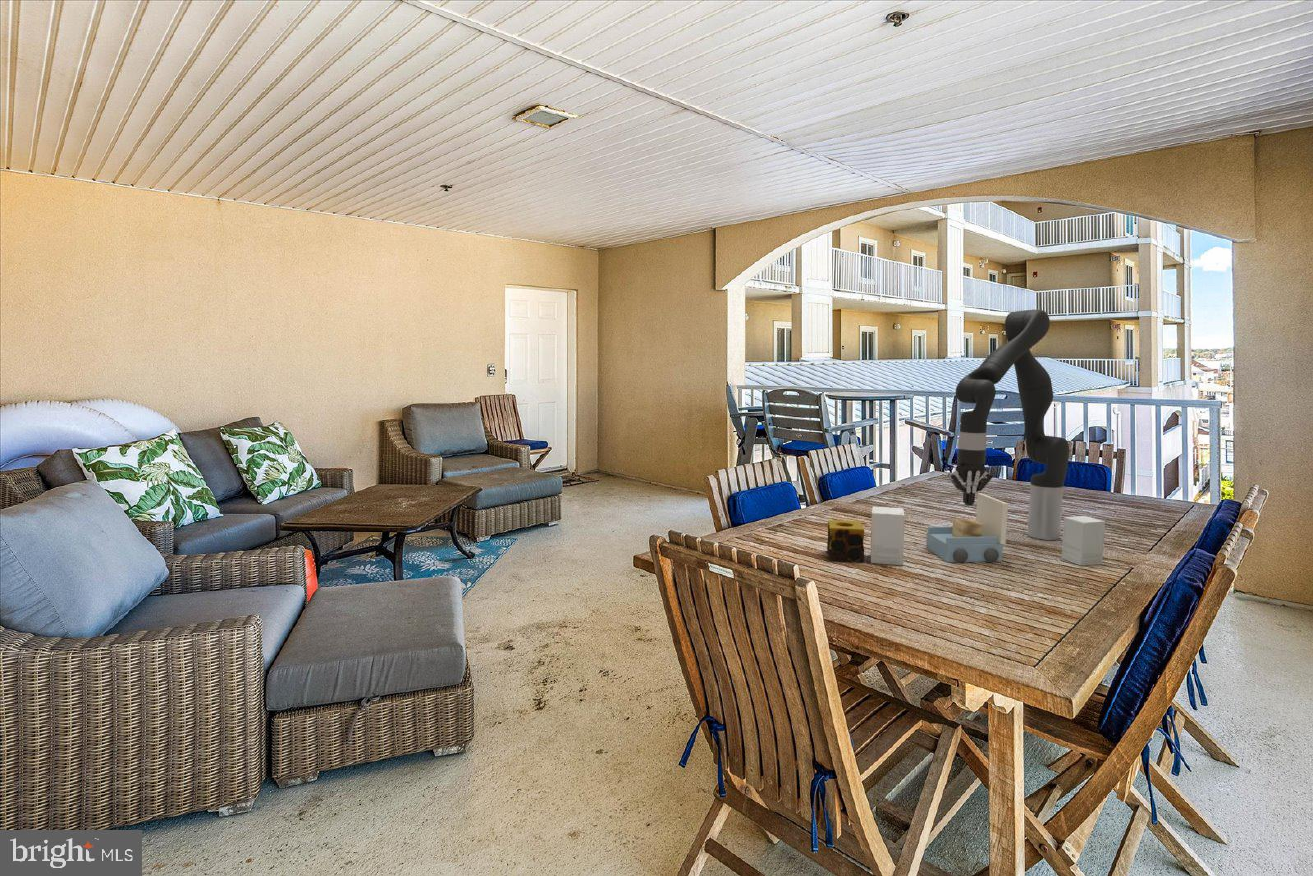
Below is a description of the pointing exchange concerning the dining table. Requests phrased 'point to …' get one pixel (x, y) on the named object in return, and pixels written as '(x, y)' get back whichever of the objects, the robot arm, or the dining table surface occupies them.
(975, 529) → the wooden block
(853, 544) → the yellow spotted cube
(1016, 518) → the dining table surface
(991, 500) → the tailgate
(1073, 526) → the supplement box
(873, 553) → the supplement box
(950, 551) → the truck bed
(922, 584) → the dining table surface
